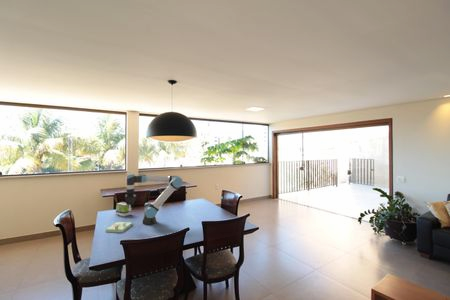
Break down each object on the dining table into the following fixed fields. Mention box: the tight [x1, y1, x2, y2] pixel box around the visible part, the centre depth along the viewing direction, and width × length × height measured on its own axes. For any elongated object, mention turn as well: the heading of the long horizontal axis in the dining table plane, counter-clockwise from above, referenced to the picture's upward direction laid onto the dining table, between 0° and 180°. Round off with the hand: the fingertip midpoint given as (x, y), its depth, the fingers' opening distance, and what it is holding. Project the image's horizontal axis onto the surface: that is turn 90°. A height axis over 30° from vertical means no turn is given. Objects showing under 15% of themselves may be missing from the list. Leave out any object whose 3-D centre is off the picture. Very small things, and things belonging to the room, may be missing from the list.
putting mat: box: [105, 221, 134, 234], centre depth 222 cm, size 17×22×3 cm
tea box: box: [115, 201, 131, 217], centre depth 269 cm, size 15×10×15 cm
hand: (130, 210), depth 222 cm, fingers closed
